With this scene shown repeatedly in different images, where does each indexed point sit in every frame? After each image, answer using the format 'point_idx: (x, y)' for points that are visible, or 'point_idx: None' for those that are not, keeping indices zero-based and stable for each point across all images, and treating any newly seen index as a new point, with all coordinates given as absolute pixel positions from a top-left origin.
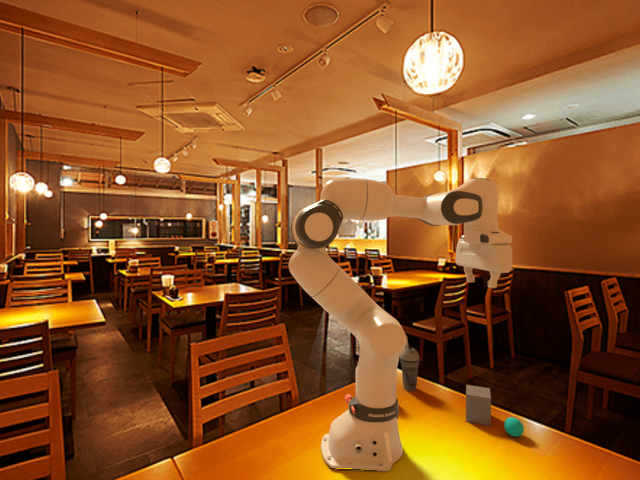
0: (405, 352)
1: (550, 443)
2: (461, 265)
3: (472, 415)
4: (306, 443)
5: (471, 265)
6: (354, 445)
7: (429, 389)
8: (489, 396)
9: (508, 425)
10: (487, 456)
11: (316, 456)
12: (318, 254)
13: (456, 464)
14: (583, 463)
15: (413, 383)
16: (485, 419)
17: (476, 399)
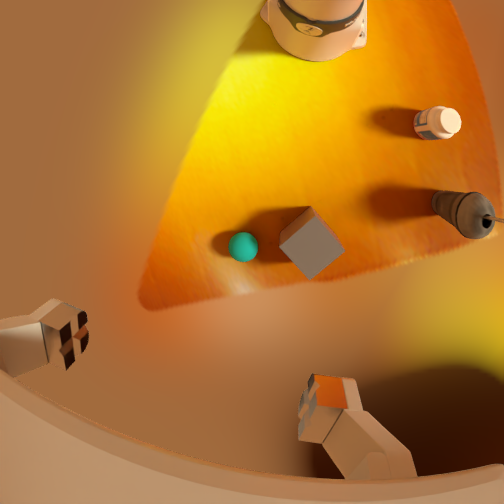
0: (482, 203)
1: (208, 272)
2: (443, 475)
3: (303, 215)
4: None
5: (214, 484)
6: None
7: (421, 234)
8: (286, 250)
9: (241, 235)
10: (224, 160)
11: None
12: None
13: (230, 104)
14: (164, 267)
15: (437, 202)
16: (286, 229)
17: (299, 227)
